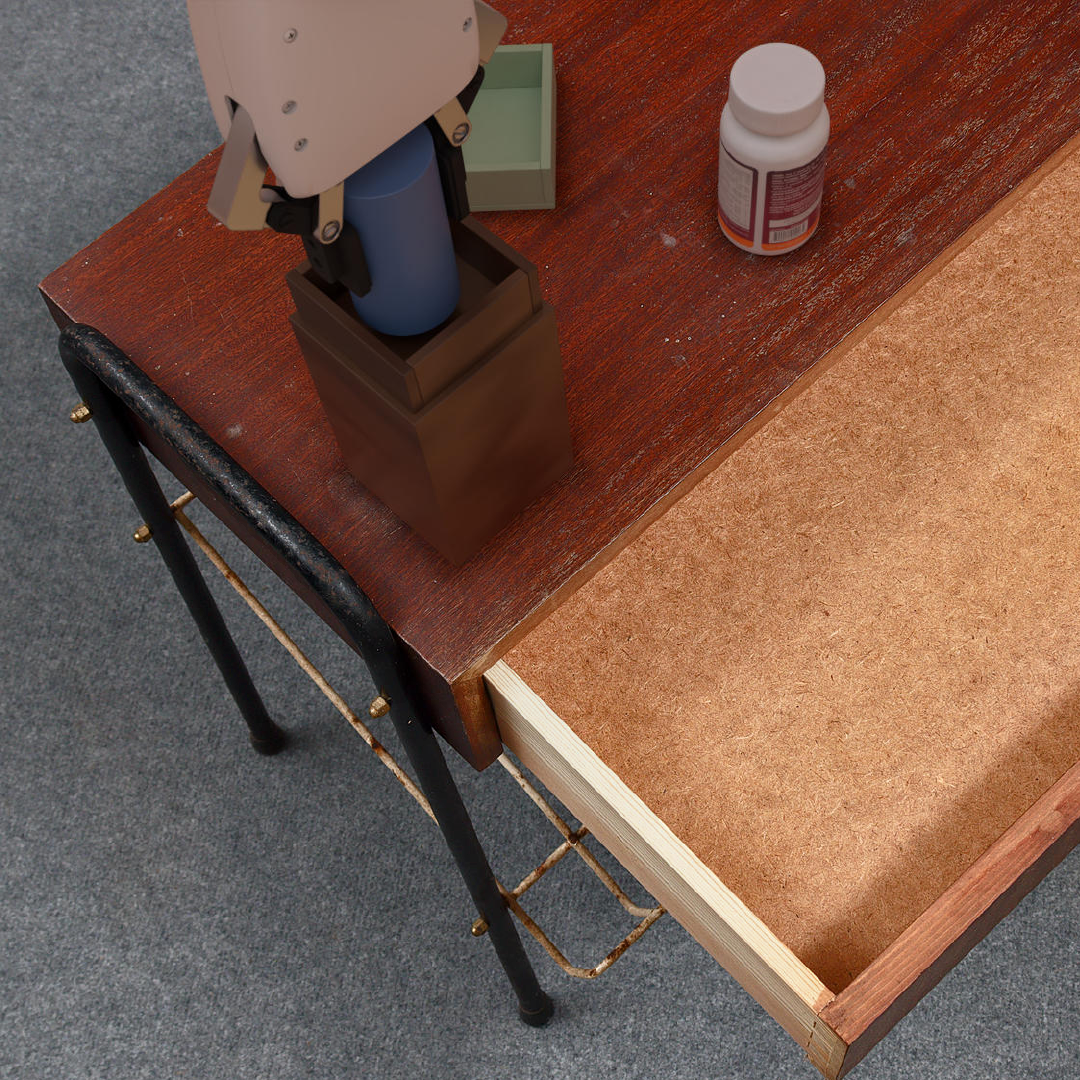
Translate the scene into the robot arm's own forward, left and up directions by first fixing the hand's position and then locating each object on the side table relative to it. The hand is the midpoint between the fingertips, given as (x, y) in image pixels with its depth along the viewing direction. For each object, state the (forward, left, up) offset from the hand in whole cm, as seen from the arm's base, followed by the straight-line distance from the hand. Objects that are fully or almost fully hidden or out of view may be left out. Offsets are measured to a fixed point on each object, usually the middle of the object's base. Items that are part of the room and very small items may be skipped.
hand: (393, 236), depth 64 cm
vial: (0, 0, -4) cm, 4 cm away
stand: (0, 0, -20) cm, 19 cm away
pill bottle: (+18, +17, -20) cm, 32 cm away
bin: (0, +24, -20) cm, 31 cm away
